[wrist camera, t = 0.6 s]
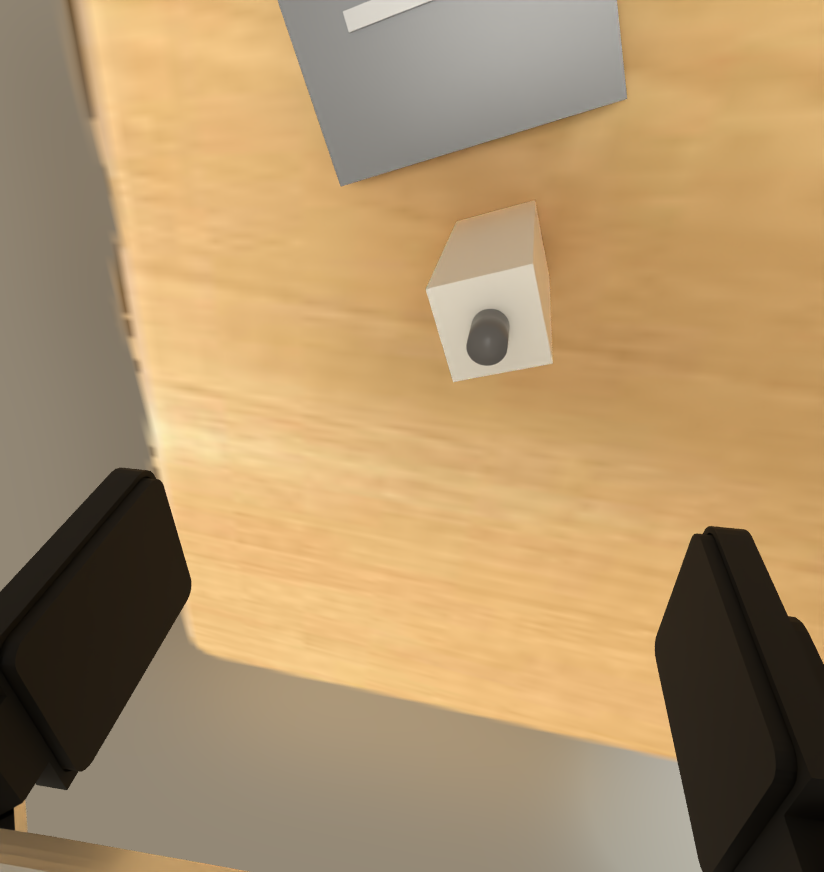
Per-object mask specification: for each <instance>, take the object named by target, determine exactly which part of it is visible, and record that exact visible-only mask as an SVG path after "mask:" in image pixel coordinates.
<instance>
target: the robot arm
mask: <svg viewBox="0 0 824 872" xmlns="http://www.w3.org/2000/svg"><path fill="white" fill-rule="evenodd" d="M190 591H191V578H190V574H189V571H188V567H187V564H186V560H185V557H184V554H183V550H182V547H181V543H180V540H179V537H178V533H177V530H176V526H175V523H174V520H173V516H172V513H171V509H170V506H169V502H168V499H167V496H166V492H165V489H164V485H163V483H162V482H161V481H160V480H158V479H156V478H155V476H154V474H153V473H152V472H151V471H148V470H139V469H129V468H118V469H115V470H114V471H112V472H111V473H110V474H109V475H108V477H107V478H106V479H105V480H104V481H103V482H102V483H101V484H100V485H99V486H98V487H97V488H96V490H95V491H94V492H93V493H92V494H91V495H90V496H89V497H88V498H87V499H86V500H85V501H84V502H83V504H81V506H80V507H79V508H78V509H77V510H76V511H75V512H74V513H73V514H72V515H71V516H70V517H69V518H68V520H67V521H66V522H65V523H64V524H63V525H62V526H61V527H60V528H59V529H58V530H57V531H56V532H55V534H54V535H53V536H52V537H51V538H50V539H49V540H48V541H47V542H46V543H45V544H44V545H43V546H42V548H41V549H40V550H39V551H38V552H37V553H36V554H35V555H34V556H33V557H32V558H31V559H30V560H29V562H28V563H27V564H26V565H25V566H24V567H23V568H22V569H21V570H20V571H19V572H18V574H16V575H15V577H14V578H13V579H12V580H11V581H10V582H9V583H8V584H7V585H6V586H5V587H4V589H2V591H1V592H0V872H248V871H243V870H237V869H232V868H226V867H221V866H215V865H210V864H204V863H199V862H193V861H187V860H182V859H176V858H171V857H165V856H159V855H154V854H148V853H143V852H137V851H131V850H126V849H120V848H114V847H108V846H103V845H98V844H92V843H86V842H81V841H75V840H69V839H63V838H57V837H52V836H46V835H39V834H33V833H28V831H27V817H26V804H25V799H26V797H27V796H28V794H29V793H30V791H31V789H32V788H33V786H34V785H35V783H36V785H40V786H47V787H52V788H58V789H64V790H67V789H68V788H69V786H70V784H71V783H72V781H73V779H74V778H75V776H76V774H77V773H78V771H83V770H85V769H86V768H87V767H88V766H89V765H90V764H91V763H92V761H93V760H94V758H95V756H96V754H97V753H98V751H99V749H100V748H101V746H102V744H103V743H104V741H105V739H106V737H107V736H108V734H109V732H110V731H111V729H112V727H113V725H114V724H115V722H116V720H117V719H118V717H119V715H120V714H121V712H122V710H123V708H124V707H125V705H126V703H127V702H128V700H129V698H130V697H131V694H132V693H133V692H134V690H135V688H136V686H137V685H138V683H139V681H140V680H141V678H142V676H143V675H144V673H145V671H146V669H147V668H148V666H149V664H150V662H151V661H152V659H153V658H154V656H155V654H156V652H157V651H158V649H159V647H160V646H161V644H162V642H163V640H164V639H165V637H166V635H167V634H168V632H169V630H170V629H171V627H172V625H173V623H174V622H175V620H176V618H177V617H178V615H179V613H180V612H181V610H182V608H183V606H184V605H185V603H186V601H187V599H188V597H189V595H190ZM655 657H656V662H657V667H658V672H659V677H660V681H661V686H662V691H663V695H664V700H665V705H666V709H667V714H668V719H669V723H670V728H671V733H672V737H673V742H674V747H675V752H676V756H677V761H678V766H679V770H680V775H681V779H682V784H683V789H684V794H685V798H686V803H687V808H688V812H689V817H690V822H691V826H692V831H693V836H694V841H695V845H696V850H697V855H698V859H699V863H700V867H701V869H702V871H703V872H824V664H823V662H822V660H821V658H820V656H819V654H818V651H817V649H816V647H815V645H814V643H813V641H812V639H811V637H810V635H809V633H808V631H807V629H806V628H805V626H804V625H803V623H802V622H801V621H800V620H798V619H797V618H795V617H790V616H788V615H787V613H786V611H785V609H784V606H783V604H782V602H781V600H780V598H779V595H778V593H777V591H776V589H775V587H774V584H773V582H772V580H771V578H770V576H769V573H768V571H767V569H766V567H765V565H764V562H763V560H762V558H761V556H760V554H759V551H758V549H757V547H756V545H755V543H754V540H753V538H752V536H751V535H750V533H749V532H748V531H747V530H744V529H734V528H724V527H714V526H709V527H707V528H706V529H705V531H704V533H703V534H694V535H693V536H692V538H691V541H690V544H689V546H688V549H687V552H686V555H685V558H684V560H683V563H682V566H681V569H680V572H679V574H678V577H677V580H676V583H675V586H674V588H673V591H672V594H671V597H670V599H669V602H668V605H667V608H666V611H665V613H664V616H663V619H662V622H661V625H660V627H659V630H658V633H657V636H656V641H655Z"/></svg>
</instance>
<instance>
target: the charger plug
mask: <svg viewBox="0 0 824 872" xmlns="http://www.w3.org/2000/svg"><path fill="white" fill-rule="evenodd" d="M426 292H427V295H428V299H429V302H430V305H431V309H432V312H433V316H434V319H435V322H436V326H437V329H438V332H439V336H440V339H441V343H442V346H443V349H444V353H445V356H446V360H447V363H448V366H449V370H450V373H451V376H452V380H453V382H456V381H461V380H467V379H472V378H477V377H483V376H488V375H493V374H499V373H504V372H510V371H515V370H520V369H526V368H531V367H536V366H542V365H547V364H553V355H552V328H551V301H550V277H549V272H548V266H547V261H546V256H545V250H544V245H543V239H542V234H541V229H540V223H539V218H538V213H537V207H536V202H535V200H533V201H529V202H525V203H522V204H518V205H514V206H511V207H507V208H503V209H499V210H496V211H492V212H488V213H485V214H481V215H477V216H474V217H470V218H466V219H462V220H459V221H456V223H455V225H454V228H453V230H452V232H451V234H450V236H449V239H448V241H447V243H446V245H445V248H444V250H443V252H442V254H441V256H440V259H439V261H438V263H437V265H436V267H435V270H434V272H433V274H432V276H431V279H430V281H429V283H428V285H427V287H426Z"/></svg>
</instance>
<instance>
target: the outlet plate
mask: <svg viewBox="0 0 824 872" xmlns="http://www.w3.org/2000/svg"><path fill="white" fill-rule="evenodd" d="M278 3H279V6H280V9H281V12H282V15H283V18H284V21H285V24H286V27H287V30H288V33H289V36H290V38H291V41H292V44H293V47H294V50H295V53H296V56H297V59H298V62H299V65H300V68H301V71H302V74H303V77H304V80H305V83H306V86H307V89H308V92H309V95H310V97H311V100H312V103H313V106H314V109H315V112H316V115H317V118H318V121H319V124H320V127H321V130H322V133H323V136H324V139H325V142H326V145H327V148H328V151H329V154H330V156H331V159H332V162H333V165H334V168H335V171H336V174H337V177H338V180H339V183H340V186H344V185H347V184H351V183H354V182H357V181H361V180H364V179H367V178H370V177H374V176H377V175H380V174H383V173H387V172H390V171H393V170H396V169H400V168H403V167H406V166H409V165H413V164H416V163H419V162H423V161H426V160H429V159H432V158H436V157H439V156H442V155H445V154H449V153H452V152H455V151H458V150H462V149H465V148H468V147H471V146H475V145H478V144H481V143H485V142H488V141H491V140H494V139H498V138H501V137H504V136H507V135H511V134H514V133H517V132H520V131H524V130H527V129H530V128H533V127H537V126H540V125H543V124H547V123H550V122H553V121H556V120H560V119H563V118H566V117H569V116H573V115H576V114H579V113H582V112H586V111H589V110H592V109H595V108H599V107H602V106H605V105H609V104H612V103H615V102H618V101H622V100H625V99H627V93H626V83H625V74H624V64H623V54H622V45H621V35H620V26H619V16H618V7H617V0H278Z"/></svg>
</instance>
